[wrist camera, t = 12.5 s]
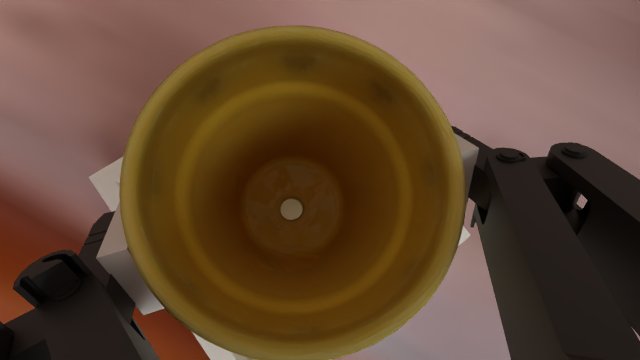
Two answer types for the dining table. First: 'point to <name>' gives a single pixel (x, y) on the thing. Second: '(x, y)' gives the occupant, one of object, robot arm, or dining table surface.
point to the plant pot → (292, 194)
